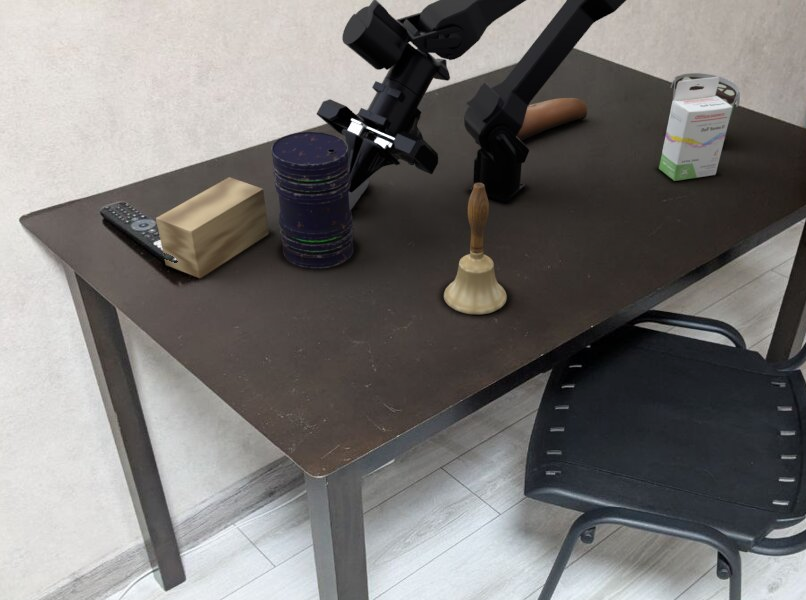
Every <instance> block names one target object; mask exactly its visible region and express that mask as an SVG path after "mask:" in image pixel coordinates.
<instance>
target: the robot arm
mask: <svg viewBox="0 0 806 600" xmlns="http://www.w3.org/2000/svg"><path fill="white" fill-rule="evenodd" d="M526 1H527V0H436V1H434V2H432V3H430V4H428V5H426V7H424V8H423V9H422V10H421V12H418V13H414V14H411V15H407V16H404V17H401V18H397V19H396V18H395V17H394V16H393V15H392V14H391V13H389V12H388V10H387V9H386V8H385V7H384V6H383V4H381V3H380V2H379V1H378V0H372V1H371V3H370V4H369V5H367V6H364V7H362V8H361V9H359V10H358V11H357V12H356V13H353V14H352V15H351V17H350V18H349V19H348V21H347V23H346V25H345V27H344V29H343V32H342V36H341V38H342V39H341V40H342V43H343V44H344V45H345V46H347V48H349V49H350V50H351V51H353V52H354V53H355V54H357V56H359V57H360V58H361V59H363V60H364V61H365V62H366V63H367V64H369V65H370V66H371V67H372V68H373V69H375V70H378V71H380V70H383V69H385V70H387V73H386V75H385V77H384V78H383V80H382V82H379V81H377V80H374V81H375V82H374V83H373V85H372V87H371V88H372V89H373V90H374V91H375V92H376V93H375V94H374V97H373V98H372V100H371V102H370V104H369V106H368V108H367V109H365V108H363V107H360V108H359V111H358V113H357V114H356V113H355V112H354V111H353V110H352V109H350V107H348V106H347V105H345V104H343V103H340V102H338V101H335V100H333V99H331V98H330V99H326V100H324V101H322V102H321V104H320V107H319V108H318V109H317V112H316V115H317V116H318V117H319V118H320V119H321V120H322V121H324V122H325V124H327V125H329V126H330V127H331V128H332V129H333V130H335V132H337V133H338V134H340V135H342V136H344V137H345V142H346V144H347V146H348V159H349V165H350V180H351V184H350V190H349V192H353V191H354V190H356V189H357V188H358V187H359V186H360V185H361V184H362V183H363V182H365V181H366V180H367V179H368V178H369V179H370V177H371V176H372V175H374V174H376V172H377V171H379V170H380V169H382V168H384V167H386V166H387V167H388V166H391V165H395V166H400V164H401V162H400V161H399V160H401V161H404V162H406V163H407V164H408V165H410V166H415V167H416V168H417V169H418V170H421V171H423V172H424V173H427V174H429V175H433V174H434V171H435V170H436V169H437V167H438V165H439V153H438V152H437V151H436V150H435V149H434V148H433V147H432V146H431V145H430V144H429V143H428V142H427V141H426V140H425V139H424V136H423V134H422V132H421V130H420V129H419V128H418V124H419V121H420V119H421V115H422V113H423V112H422V111H421V110H420V109H419V108H418V107H419V105H420V103H421V102H422V100H423V98H424V96H425V94H426V92H427V91H428V89H429V87H430V85H431V83H432V81H433V80H434V79H435V80H441V81H446V82H447V81H450V80H451V75H450V71H449V69H448V66H447V65H448V64H447V62H448V61H452V60H457V59H459V58H461V57H462V56H463V55H464V54H466V53H467V52H468V51H469V50H470V49H471V48H472V47H473V46H474V45H475V44H477V43H478V42H479V41H480V40H481V38H482V37H483V35H484V33H485V32H486V30H487V28H488V27H489V26H491V24H493V23H494V22H495V21H497V20H498V19H500V18H501V17H503V16H504V15H506V14H507V13H509V12H512V10H514V9H516V8H517V7H519V6H520V5H522V4H523V3H525V2H526ZM626 1H627V0H566V1H565V2H564V3H563V5H562V6H561V8H559V10H558V11H557V12H556V14H555V15H554V16H553V17H552V19H551V20H550V21H549V22H548V23H547V25H546V26H545V28H544V29H543V30H542V31H541V32H540V34H539V35H538V37H537V38H536V39H535V40H534V42H533V43H532V44H531V45H530V47H529V48H528V49H527V51H526V52H525V53H524V55H523V56H522V57H521V58H520V60H519V61H518V62H517V63H516V65H514V68H513V69H512V70H511V71H510V73H509V74H508V75H507V76H506V78H505V79H504V80H503V81H502V82H500V83H498V84H497V85H493V86H492V87H491V86H490V85H489V84H487V82H484V83H482V84H481V85H480V87H479V89H478V90H477V92H476V93H475V95H474V96H473V97H472V98H471V99H470V100H469V101H467V102H466V105H467V106H468V107H467V108H466V111H465V112H464V115H463V119H464V120H463V121H464V128H465V130H466V132H467V133H468V134H469V135H470V136H471V137H472V138H473V140H474V141H475V144H476V145H478V146H479V147H480V148H479V149H478V150H477V151H476V152H477V153H476V157H475V158H474V159H473V179H472V180H473V186H471V187H470V190H469V191H470V193H472V191H473V187H474V184H475V183H483V184H484V186H485V191H486V194H487V198H488V199H492V200H494V201H497V202H500V203H508V202H509V201H511V200H512V199H513V198H514V197H516V195H518V193H520V192H521V191H522V190H523V189H525V183H522V182H521V177H522V164H524V163H525V162H526V161H527V158H528V155H529V153H530V148H529V147H527V145H526V144H525V143H524V142H523V140H522V141H521V140H520V139H519V138H518V137H517V135H518V133H519V131H520V130H521V128H522V126H523V122H524V119H525V115H526V111H527V107H528V106H529V105H530V103H531V102H532V100H533V99H534V98H535V97H536V96H537V94H538V93H539V92H540V91H541V89H542V88H543V87H544V85H545V84H546V83H547V82H548V81H549V79H550V78H551V77H552V75H553V74H554V73H555V72H556V71H557V69H558V68H559V67H560V66H561V64H562V63H563V62H564V60H565V59H566V58H567V56H568V55H569V54H570V53H571V52H572V50H573V49H574V48H575V47H576V45H577V44H578V43H579V42H580V41H581V39H582V38H583V36H584V35H586V33H587V32H588V30H589V29H590V28H591V27H592V25H594V24H595V23H596V22H598V21H599V20H601V19H604V18H606V17H607V16H610V15H611V14H614V13H615V11H617V10H619V8H620V7H621V6H622V5H624V3H626ZM432 54H435V55H436V56H438V57H440V58H435V57H434V55H432ZM447 60H448V61H447Z"/></svg>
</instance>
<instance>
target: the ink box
mask: <svg viewBox="0 0 806 600" xmlns="http://www.w3.org/2000/svg"><path fill="white" fill-rule="evenodd" d="M719 77H720V76H719ZM719 77H712V78H702V79H693V80H686V81H679V82H678V84H677V88H676V92H675V96H674V100H673V99H672V102H671V107H670V112H669V117H668V122H667V125H666V126H667V127H666V131H665V137H664V141H663V147H662V151H661V157H660V161H659V165H658V169H659V171H661V172H662V173H664V174H665V175H666V176H667V177H668V178H670V179H671V180H673V181H674V182H676V181H677V182H678V181H684V180H691V179H697V178H702V177H709V176H716V174H717V171H718V166H719V162H720V159H721V154H722V151H723V147H724V142H725V139H726V135H727V130H728V128H729V124H730V120H731V118H730V115H731V111H732V106H731V105H729V104H728V103H727V102H725V101H724V100H722V99H721V98H719V97H718V96H715V94H716V90H717V87H718V83H719ZM697 84H699V85H700V86H702V85H704V88H703V89H699V90H691V91H690V90H689V89H690V87H693V86H696V85H697ZM731 116H732V115H731ZM729 119H730V120H729Z"/></svg>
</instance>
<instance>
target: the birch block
mask: <svg viewBox="0 0 806 600" xmlns="http://www.w3.org/2000/svg"><path fill="white" fill-rule="evenodd" d="M155 220H156V227H157V230H158V235H159V240H160V245H161V250H162V253H165V254H166V253H167V254H169V255H171V256H173V257H174V258H176V259H177V261H178V262H177V263H174V262H171V261H169V260H166V259H164V263H165V266H167V267H169V268H172V269H175V270H177V271H179V272H182V273H185V274H188V275H190V276H193V277H195V278H198V279H202V278H203V277H205V276H206V275H208V274H210V273H211V272H213V271H215V269H217V268H218V267H220V266H221V265H223V264H225V263H226V262H228V261H229V260H231V259H233V258H235V257H236V256H237V255H239V254H241V253H242V252H244V251H245V250H247V249H248V248H249V247H251V246H253V245H254V244H255V243H258V242H259V241H260V240H262V239H264V238H265V237H267V236H268V235H269V234H270V231H269V224H268V215H267V208H266V200H265V191H264V188H262V187H259V186H256V185H253V184H250V183H247V182H245V181H241V180H238V179H236V178H233V177H229V176H228V177H227V178H225V179H224V180H223V179H222V181H220V182H218V183H216V184H214V185H212V186H210V187H209V188H208V189H206V190H203V191H201V192H200V193H198V194H197V195H195V196H193V197H191V198H189V199H188V200H186V201H184V202H182V203H181V204H179V205H177V206H175V207H174V208H172V209H169V210H168V211H166V212H164V213H163V214H161V215H159V216H157V217H156V218H155Z"/></svg>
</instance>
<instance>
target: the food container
mask: <svg viewBox="0 0 806 600" xmlns="http://www.w3.org/2000/svg"><path fill="white" fill-rule="evenodd" d="M712 77H719V83H718V87H717V90H716V94H715V96H718V97H719V98H721V99H722V100H724V101H725V102H727V103H728V104H729V105H731V106H732V111H731V115H730V119H729V121H730V120H731V118H732V115H733V112H734V109H735V105H736V108H738V107H739V106H740V99H741V98H740V97H741V93H740V88H739V86H738V85H737V84H736V83H735V82H733V81H731V80H729V79H728V78H725V77H723V76H719V75H715V74H710V73H703V72H689V73H687V72H686V73H682V74H679V75H676V76H675V77H674V79H673V81H672V82H671V85H670V88H669V89H673V90H672V91H673V93H672V101H673V100H674V96H675V92H676V88H677V84H678V82H679V81H686V80H693V79H702V78H712ZM703 88H704V85H702V86H700V85H699V84H697V85H696V86H693V87H690V89H689V90H690V91H691V90H699V89H703Z"/></svg>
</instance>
